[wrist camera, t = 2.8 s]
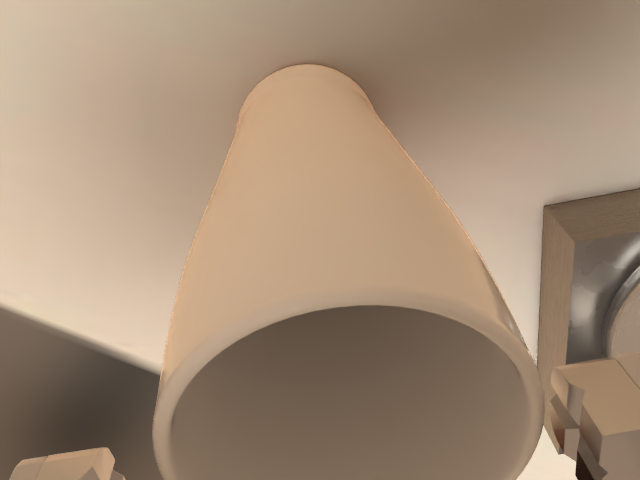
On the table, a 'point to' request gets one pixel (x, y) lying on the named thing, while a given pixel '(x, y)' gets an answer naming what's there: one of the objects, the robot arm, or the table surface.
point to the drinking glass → (337, 313)
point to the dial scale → (588, 285)
